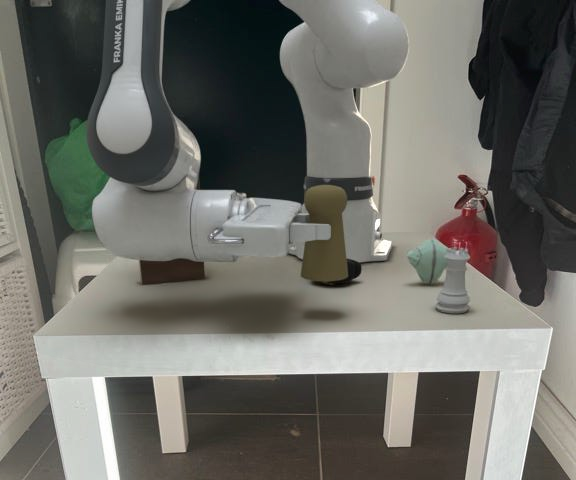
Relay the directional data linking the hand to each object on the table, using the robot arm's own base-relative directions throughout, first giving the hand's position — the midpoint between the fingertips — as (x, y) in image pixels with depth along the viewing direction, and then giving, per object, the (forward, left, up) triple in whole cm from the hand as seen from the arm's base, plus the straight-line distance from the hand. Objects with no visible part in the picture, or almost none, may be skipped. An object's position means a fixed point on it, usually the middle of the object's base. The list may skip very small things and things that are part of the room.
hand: (332, 227), depth 79 cm
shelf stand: (-12, -33, -11) cm, 37 cm away
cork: (0, -1, -6) cm, 6 cm away
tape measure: (-18, -6, -11) cm, 22 cm away
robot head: (-22, +8, -11) cm, 26 cm away
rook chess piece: (-9, +14, -11) cm, 20 cm away
